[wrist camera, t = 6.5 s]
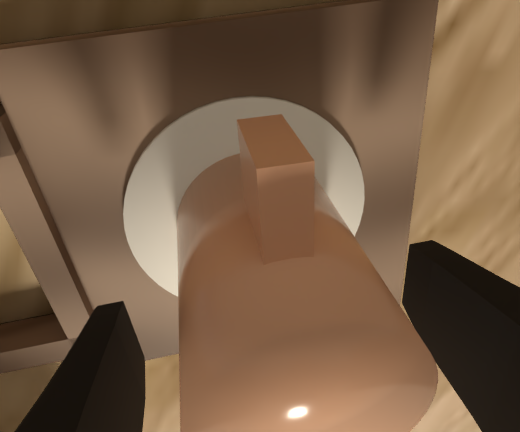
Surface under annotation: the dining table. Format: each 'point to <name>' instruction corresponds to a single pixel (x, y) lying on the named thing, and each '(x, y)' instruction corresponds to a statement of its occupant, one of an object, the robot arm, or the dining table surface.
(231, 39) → the caddy
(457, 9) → the dining table surface
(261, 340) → the peach tabbed cylinder
